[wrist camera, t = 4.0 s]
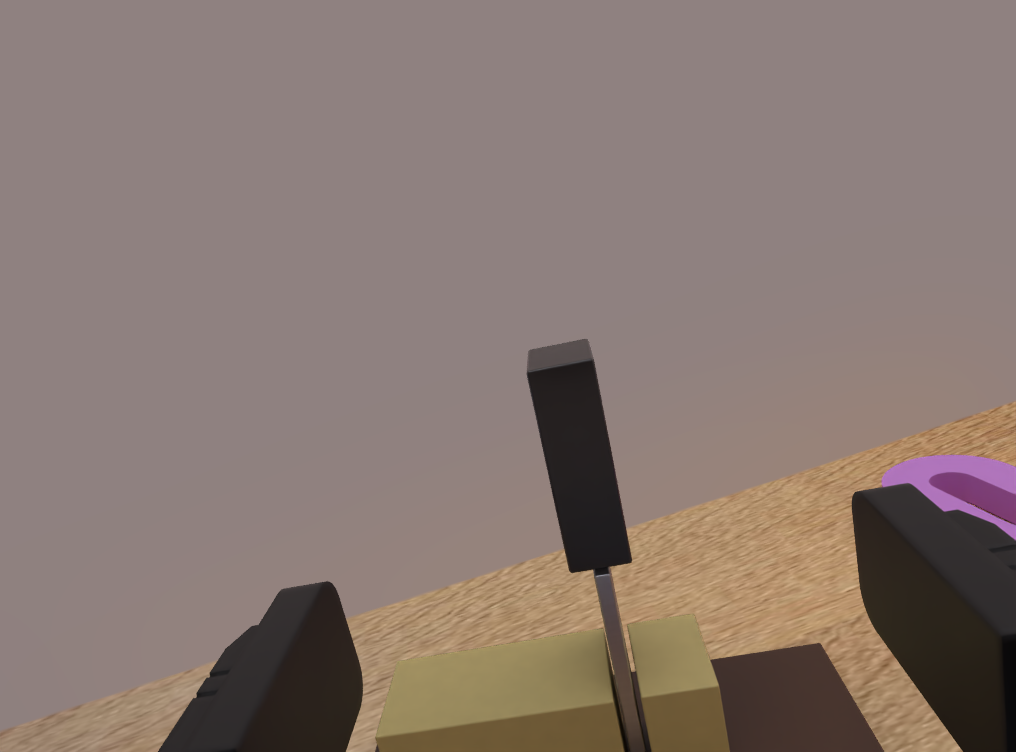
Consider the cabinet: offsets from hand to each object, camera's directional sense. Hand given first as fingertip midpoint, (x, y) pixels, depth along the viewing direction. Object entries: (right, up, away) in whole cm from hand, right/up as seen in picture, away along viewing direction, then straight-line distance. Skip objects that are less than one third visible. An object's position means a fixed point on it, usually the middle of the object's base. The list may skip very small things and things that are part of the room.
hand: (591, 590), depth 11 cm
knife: (+3, -8, +10) cm, 13 cm away
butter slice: (+4, -8, +10) cm, 13 cm away
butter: (-1, -9, +10) cm, 13 cm away
